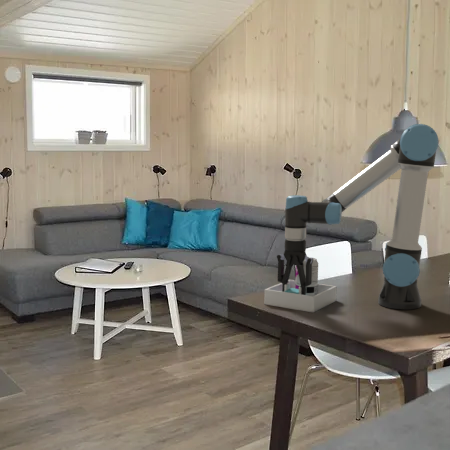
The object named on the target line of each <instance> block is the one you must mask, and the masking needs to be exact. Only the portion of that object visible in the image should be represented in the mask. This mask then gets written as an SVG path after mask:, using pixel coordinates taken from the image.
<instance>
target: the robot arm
mask: <svg viewBox="0 0 450 450" xmlns="http://www.w3.org/2000/svg"><path fill="white" fill-rule="evenodd" d="M438 148H439V136H438V133H437V132H436V130H435V129H434V128H433V127H431V126H430V125H427V124H424V123H414V124H411V125H410V126H407V128H406V129H405V130H404V131H403V132H402V134H401V135H400V136H399V138H398V139H397V140H396V141H395V142H393V143H392V144H391V145H390V149H389V150H388V151H386V152H385V153H384V154H383V155H381V156H380V157H379V158H377V159H376V160H375V161H374V162H372V163H371V164H370V165H368V166H367V167H365V168H364V169H363V170H362V171H360V172H359V173H358V174H357V175H354V177H352V178H351V179H350V180H348V181H347V182H346V183H345V184H343V185H342V186H341V187H339V188H338V189H337V190H336V191H334V192H333V193H332V194H330V195H329V196H327V197H326V198H325V199H323V200H321V201H319V202H318V201H317V202H315V201H309V200H308V197H307V196H306V195H300V194H299V195H297V194H295V195H289V196H287V197H285V208H284V210H285V211H284V212H285V213H284V215H285V216H284V218H285V221H284V222H285V223H284V224H285V225H284V226H285V227H284V238H285V240H284V252H283V254H282V253H280V254H277V255H276V258H277V282H278V283H279V282H280V283H282V285H283V286H282V292H285V291H286V290H288V289H290V284H289V283H288V280H290V276H291V272H292V269H293V266H295V269H296V268H297V269H298V274H299V279H300V284H301V286H300V287H299V294H301V295H306V286H309V285H311V283H312V262H313V258H314V257H309V256H307V254H306V250H307V249H306V248H307V240H306V239H307V225H308V224H319V225H320V224H321V225H322V224H323V225H339V224H341V221H342V215H343V213H344V212H345V210H347V209H349V207H351V206H352V205H354V204H355V203H357V202H358V201H359V200H360V199H362V198H363V197H364V196H366V195H367V194H368V193H370V192H371V191H373V190H374V189H375V188H377V187H378V186H379V185H381V184H382V183H383V182H384V181H386V180H387V179H389V178H390V177H391V176H393V175H394V174H396V173H397V172H398V171H400V170H401V171H400V178H399V186H398V191H397V192H398V193H397V201H396V207H395V213H394V214H395V215H394V221H393V230H392V235H391V239H390V240H389V241H387V242H386V243H385V248H384V253H385V254H384V261H383V265H382V273H383V276H384V277H383V284H382V286H381V289H380V292H379V294H378V297H377V298H378V299H377V300H378V302H377V303H378V305H380V306H382V307H385V308H388V309H394V310H416V309H419V308H421V307H422V297H421V294H420V291H419V290H420V289H419V287H418V278H419V276H420V272H421V268H420V264H421V257H422V250H423V247H422V246H421V245H420V243H419V238H420V231H421V223H422V217H423V211H424V210H423V209H424V205H425V198H426V197H425V196H426V191H427V183H428V176H429V172H431V170H432V169H433V168H435V162H436V156H437V155H436V154H437V151H438ZM285 260H286V263H285ZM304 260H306V278H305V273H304V268H303V267H304V264H303V261H304ZM287 283H288V284H287Z"/></svg>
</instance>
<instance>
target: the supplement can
mask: <svg viewBox="0 0 450 450" xmlns="http://www.w3.org/2000/svg"><path fill="white" fill-rule="evenodd" d="M312 258H313V262H312V283H311V285H309V286H306V295H308V296H315V295H317V292H318V284H319V262H318V260H317V258H314V257H312ZM303 264H304V267H303V268H304V273H305V278H306V260H304V261H303ZM295 280H296V281H295V289H299V287H300V286H301V284H300V279H299V274H298V269H297V268H296V267H295Z"/></svg>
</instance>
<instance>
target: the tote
mask: <svg viewBox="0 0 450 450" xmlns="http://www.w3.org/2000/svg"><path fill="white" fill-rule="evenodd" d="M295 281H296V279H295V280H294V279H289V280H288V283H289V284H290V288H295ZM288 283H287V284H288ZM282 286H283V285H282V283H281V282H280V283H277V284H275V285H272V286H269V287H268V288H264V299H263V301H264V303H263V304H264V305H267V306H274V307H277V308H278V307H280V308H284V309H291V310H296V311H302V312H309V313H316V312H317V311H320V310H322V309H324V308H325V307H327V306H329V305H332V303H335V302H337V287H338V286H337V285H330V284H323V283H318V292H317V295H315V296H308V295H301V294H295V293H288V292H282Z"/></svg>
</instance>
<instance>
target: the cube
mask: <svg viewBox="0 0 450 450" xmlns="http://www.w3.org/2000/svg"><path fill="white" fill-rule="evenodd" d="M285 292H288V293H295V294H299V289H295V288H290V289H288V290H286V291H285Z"/></svg>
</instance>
